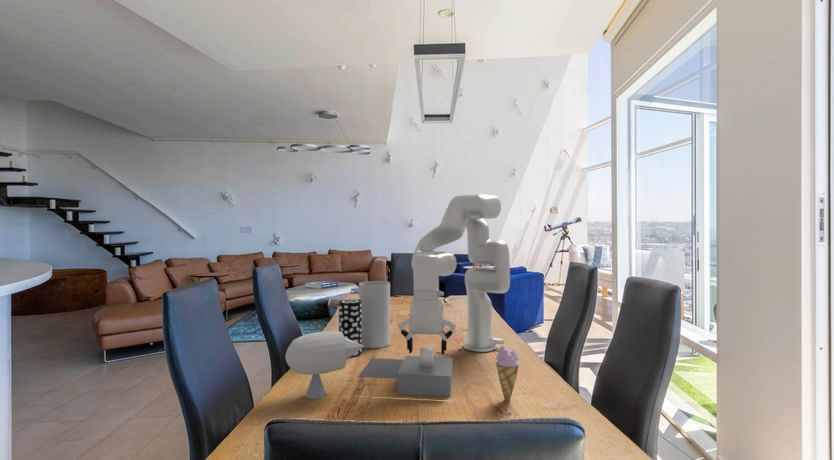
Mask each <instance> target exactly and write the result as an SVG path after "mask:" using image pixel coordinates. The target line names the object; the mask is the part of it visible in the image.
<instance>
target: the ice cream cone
mask: <svg viewBox="0 0 834 460" xmlns="http://www.w3.org/2000/svg"><path fill="white" fill-rule="evenodd" d="M498 350H499V351H498V352H497V354H496V362H495V365H496V369H497V376H498V379H499V380H498V381H499V384H500V388H501V390H502V391H501V392H502V395H503V398H504V399H503V400H504V401H505V402H510V401H511V399H512V395H513V391H514V388H515V385H516V380H517V376H518V370H519V365H520V360H519V353H518V351H516V350H515V349H513V350H512V348H511V347H508V346H504V345H501V346H500V347H499V348H498Z"/></svg>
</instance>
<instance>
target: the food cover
mask: <svg viewBox="0 0 834 460" xmlns="http://www.w3.org/2000/svg"><path fill="white" fill-rule="evenodd" d="M402 360H403V362H402V364H401V366H400V369H399V371H398V373H397V380H396V394H397V395H409V396H414V395H415V396H432V397H451V395H452V384H453V367H454V365H453V363H454V362H453V357H439V356H438V357H437V356H434V347H432V346H422V347H420V348H419V355H417V356H416V355H405V356H404V358H403V359H402Z"/></svg>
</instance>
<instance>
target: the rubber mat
mask: <svg viewBox="0 0 834 460" xmlns="http://www.w3.org/2000/svg"><path fill="white" fill-rule="evenodd" d="M403 360H404V359H397V358H373V357H372V358H370V360H369V361H368V362H367V364H366V365H365V367H364V368H362V371H361V372H360V373H359V374H358V376H357V377H358V378H375V379H376V378H377V379H380V378H381V379H397V373H398V371H399V369H400V366H401V364H402V362H403Z"/></svg>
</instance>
